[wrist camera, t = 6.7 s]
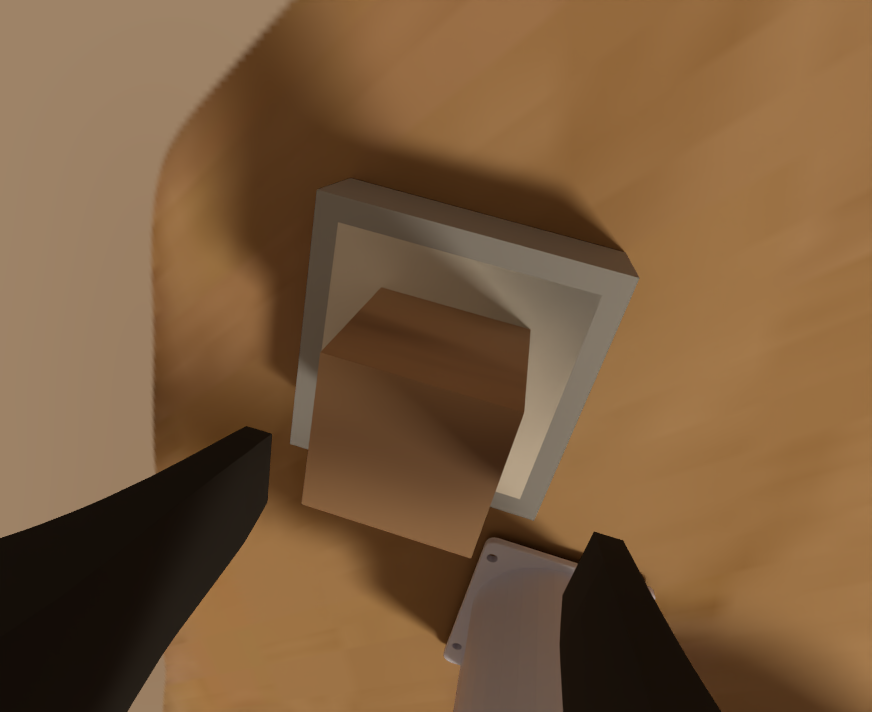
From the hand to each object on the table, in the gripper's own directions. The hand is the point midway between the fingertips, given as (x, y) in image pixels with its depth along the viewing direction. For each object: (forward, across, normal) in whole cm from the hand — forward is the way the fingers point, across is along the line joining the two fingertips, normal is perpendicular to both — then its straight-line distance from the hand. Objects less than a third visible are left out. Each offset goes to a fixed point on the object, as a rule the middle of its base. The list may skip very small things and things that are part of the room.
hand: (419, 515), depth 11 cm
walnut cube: (+7, +1, 0) cm, 7 cm away
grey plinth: (+10, +1, 0) cm, 10 cm away
